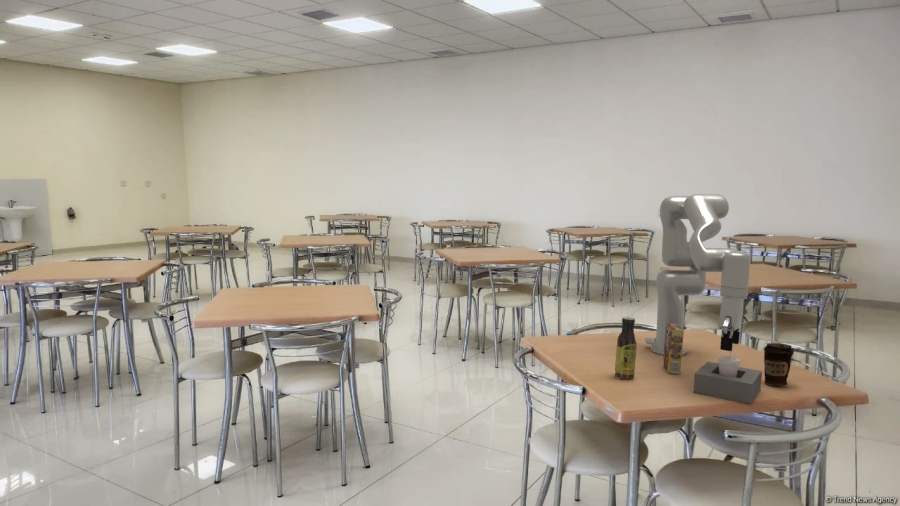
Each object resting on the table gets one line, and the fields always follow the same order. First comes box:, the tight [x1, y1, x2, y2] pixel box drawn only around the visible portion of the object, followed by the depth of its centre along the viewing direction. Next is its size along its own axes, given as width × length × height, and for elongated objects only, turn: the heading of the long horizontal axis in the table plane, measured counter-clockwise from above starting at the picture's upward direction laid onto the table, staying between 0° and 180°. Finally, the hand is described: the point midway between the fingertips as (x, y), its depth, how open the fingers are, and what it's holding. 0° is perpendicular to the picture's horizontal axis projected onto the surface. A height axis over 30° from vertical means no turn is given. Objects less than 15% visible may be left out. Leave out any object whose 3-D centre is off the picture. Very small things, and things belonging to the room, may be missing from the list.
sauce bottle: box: [614, 316, 638, 380], centre depth 196 cm, size 6×6×20 cm
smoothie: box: [717, 344, 741, 377], centre depth 184 cm, size 6×6×14 cm
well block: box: [693, 361, 763, 405], centre depth 185 cm, size 16×16×6 cm
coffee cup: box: [763, 342, 794, 388], centre depth 191 cm, size 9×8×13 cm
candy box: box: [662, 324, 685, 375], centre depth 205 cm, size 9×4×15 cm, turn 172°
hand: (729, 346), depth 184 cm, fingers open, 9 cm apart
